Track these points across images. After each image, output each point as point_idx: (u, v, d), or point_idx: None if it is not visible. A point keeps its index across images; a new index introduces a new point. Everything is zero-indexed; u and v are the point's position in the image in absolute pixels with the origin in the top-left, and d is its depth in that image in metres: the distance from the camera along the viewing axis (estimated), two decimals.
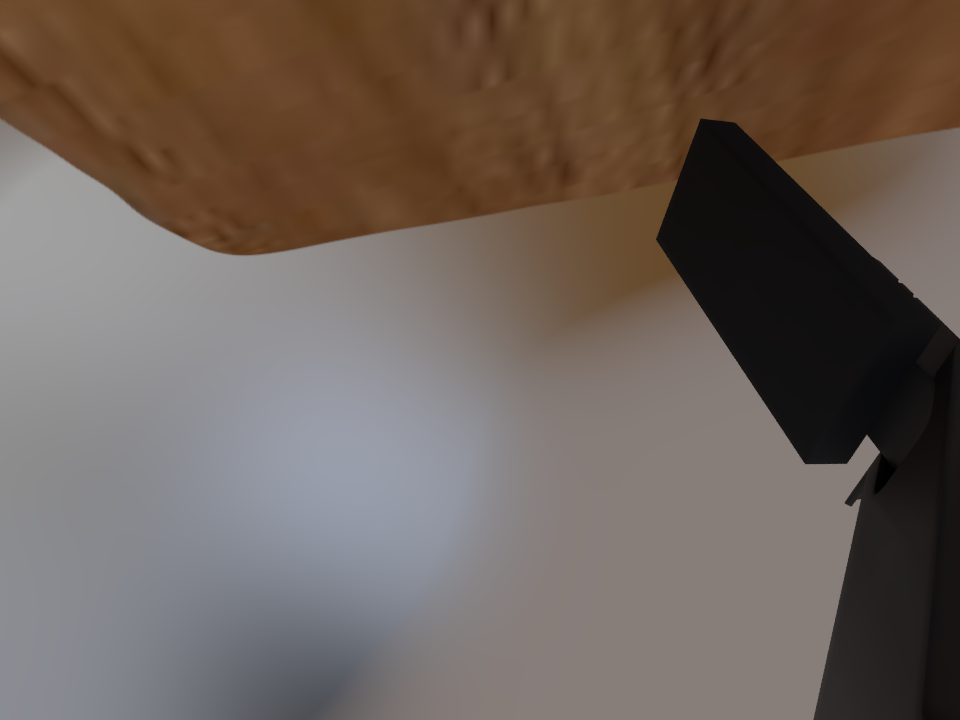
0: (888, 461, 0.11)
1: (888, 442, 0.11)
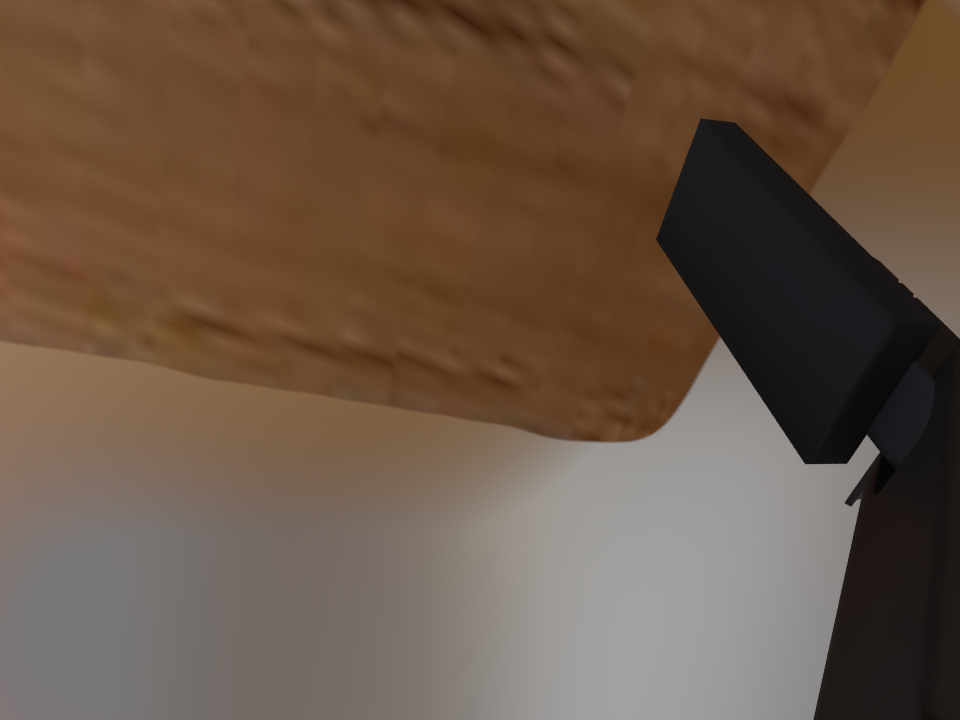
0: (888, 461, 0.11)
1: (888, 442, 0.11)
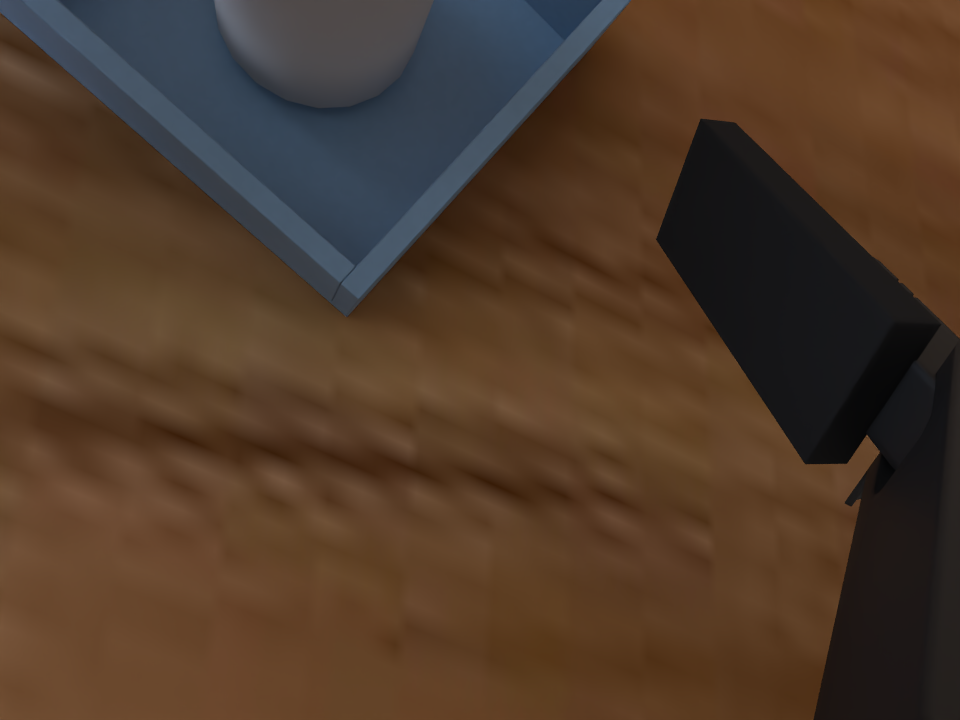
0: (888, 461, 0.11)
1: (888, 442, 0.11)
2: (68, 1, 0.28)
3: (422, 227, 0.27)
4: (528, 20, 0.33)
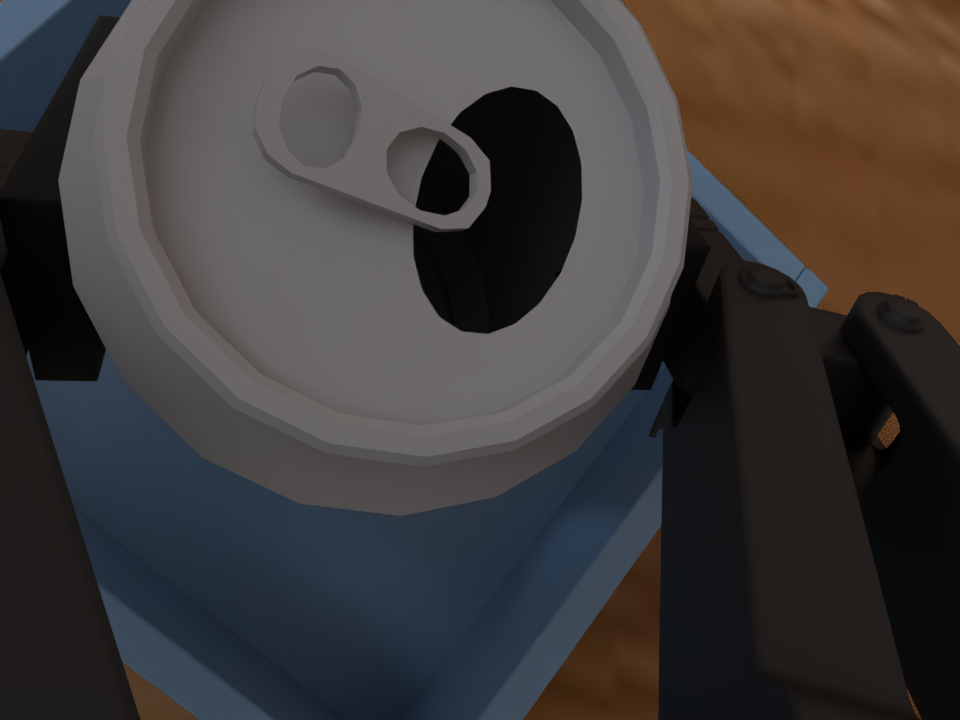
0: (680, 390, 0.12)
1: (677, 373, 0.12)
2: None
3: None
4: None
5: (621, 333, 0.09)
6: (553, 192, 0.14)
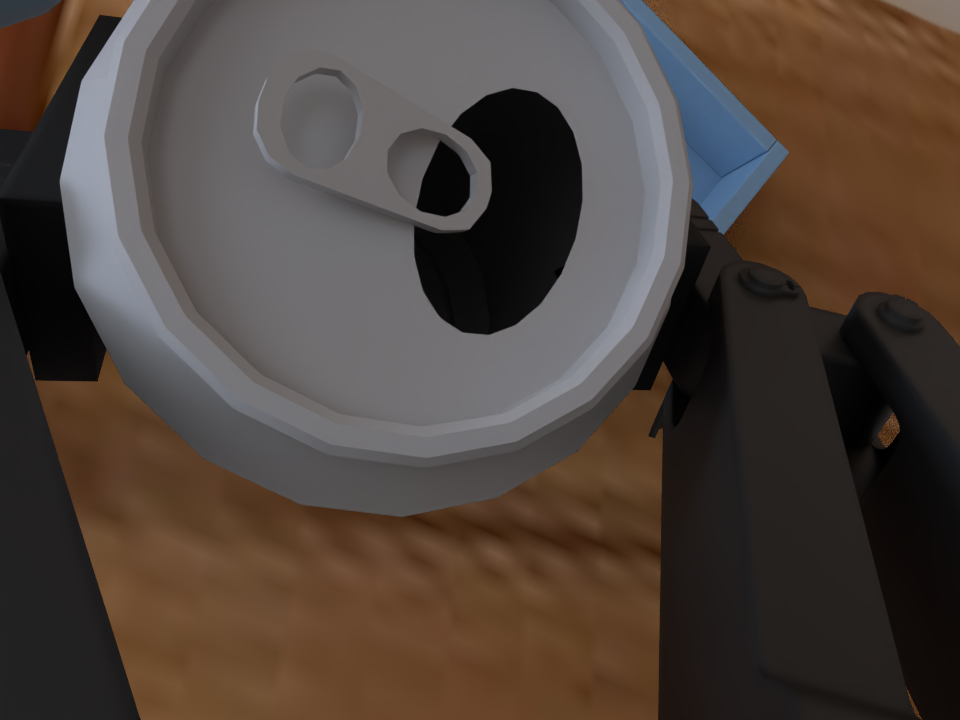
0: (680, 391, 0.12)
1: (677, 373, 0.12)
2: None
3: None
4: (689, 158, 0.38)
5: (622, 333, 0.09)
6: (553, 193, 0.14)
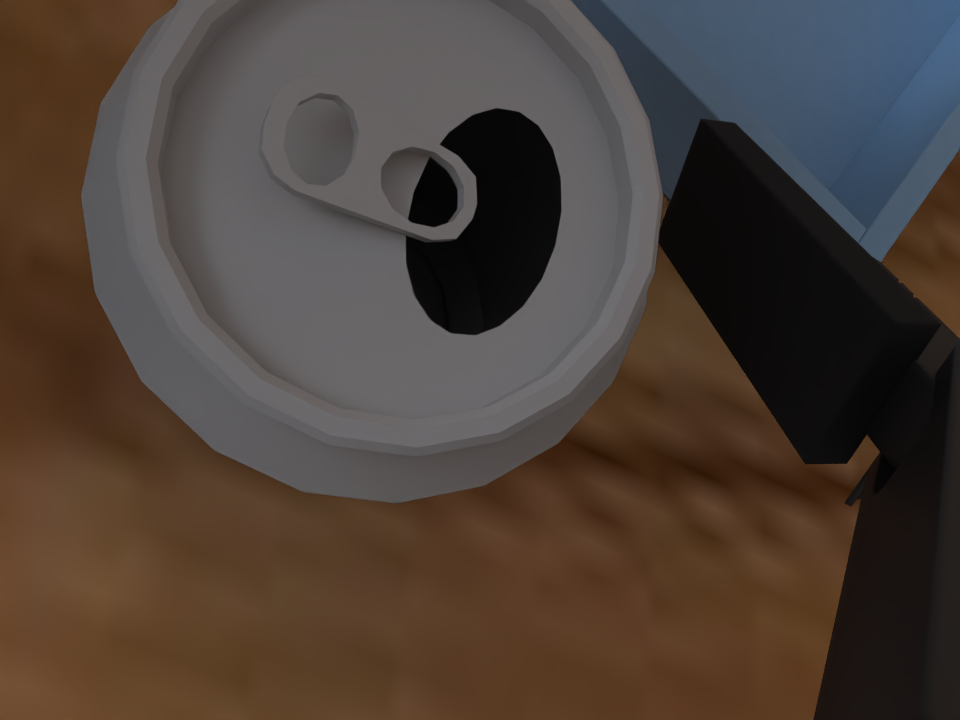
0: (888, 461, 0.11)
1: (888, 442, 0.11)
2: None
3: (937, 180, 0.21)
4: None
5: (597, 333, 0.09)
6: (541, 201, 0.15)
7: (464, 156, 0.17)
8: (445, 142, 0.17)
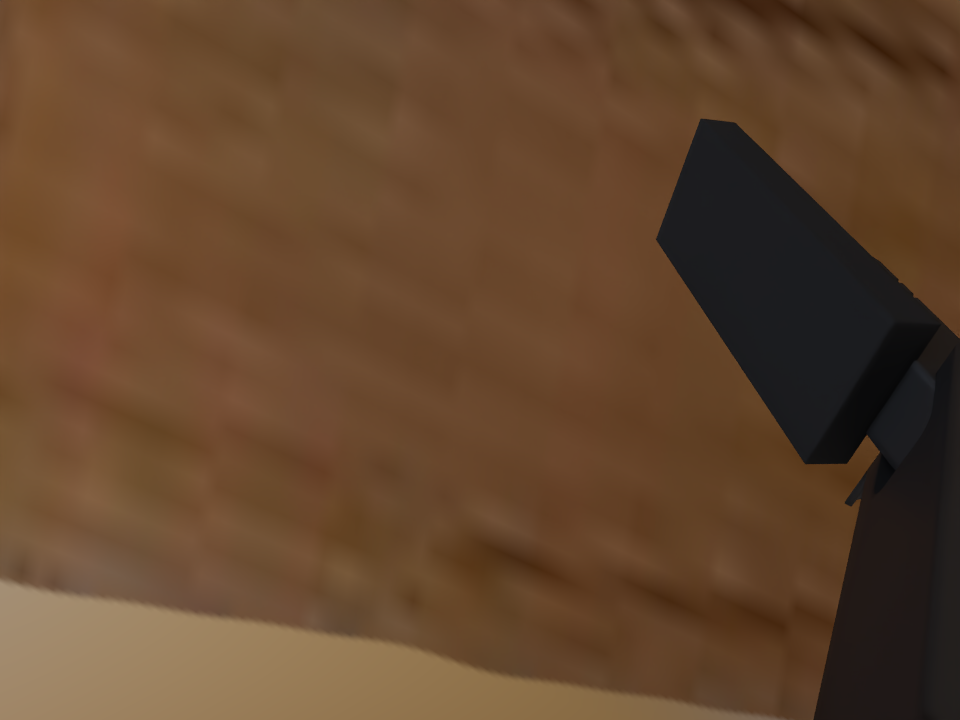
0: (888, 461, 0.11)
1: (888, 442, 0.11)
2: None
3: None
4: None
5: None
6: None
7: None
8: None
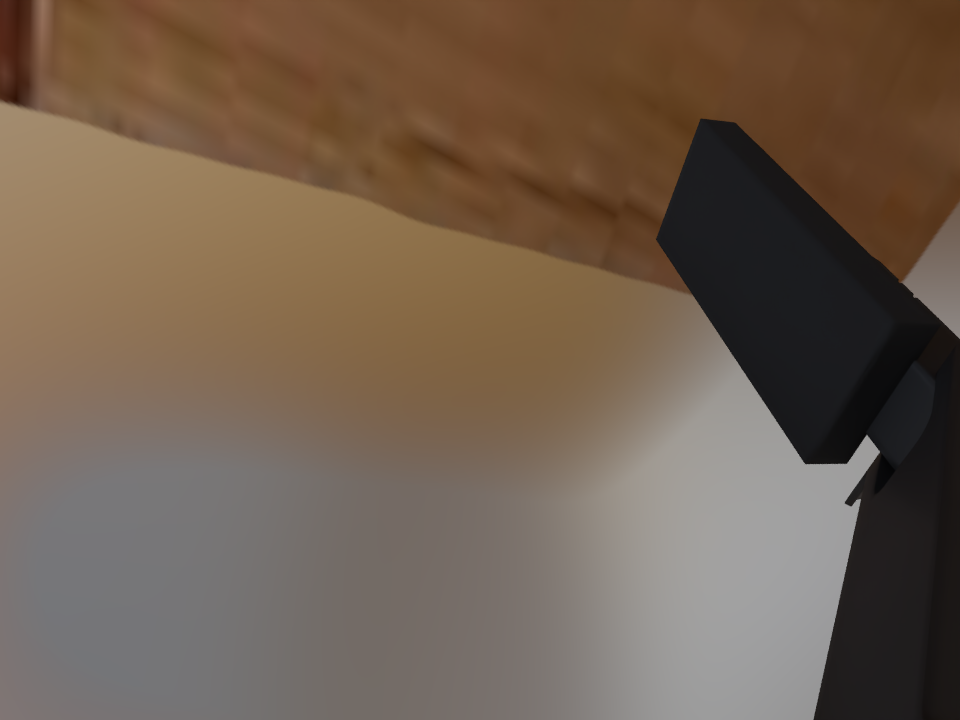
0: (888, 461, 0.11)
1: (888, 442, 0.11)
2: None
3: None
4: None
5: None
6: None
7: None
8: None
